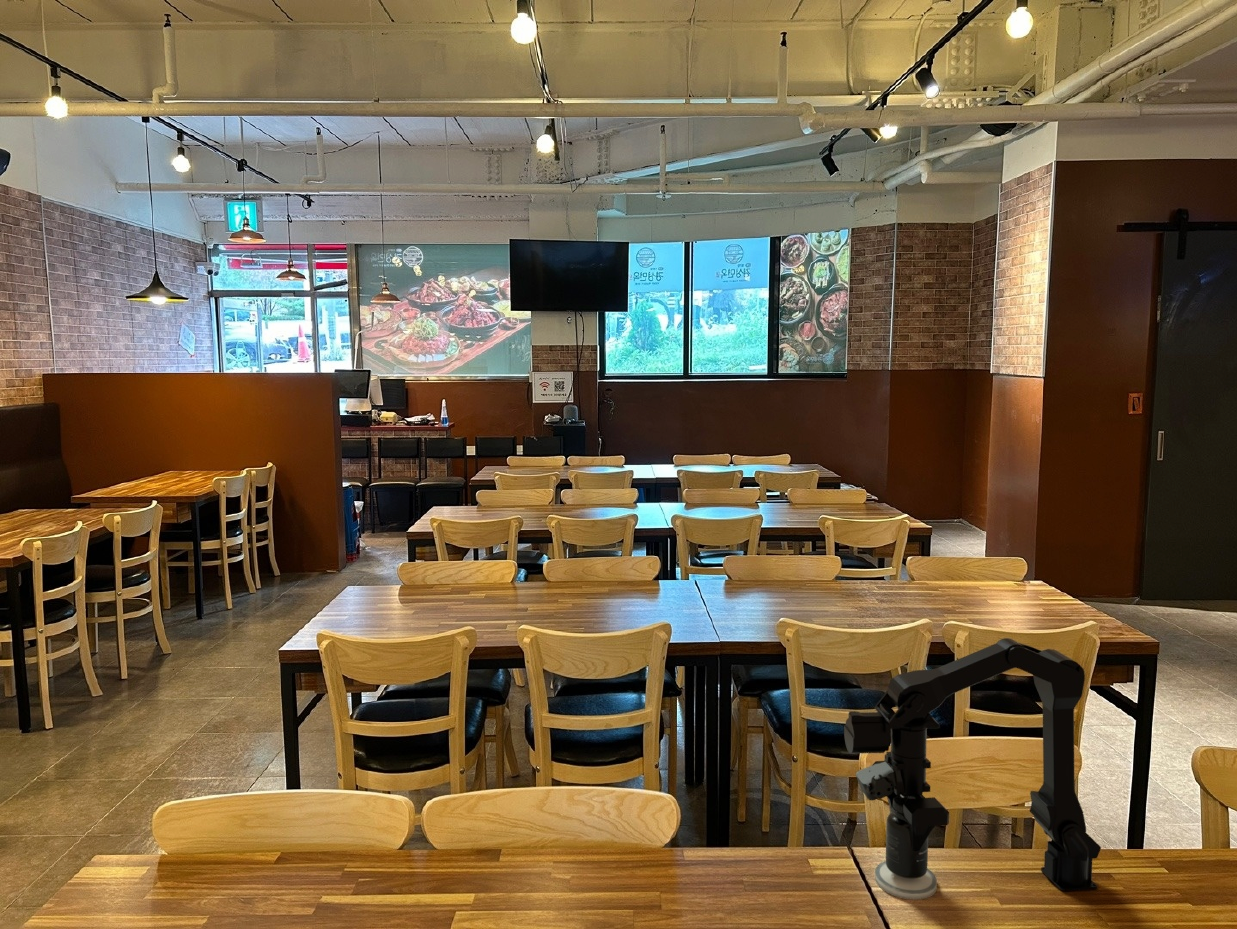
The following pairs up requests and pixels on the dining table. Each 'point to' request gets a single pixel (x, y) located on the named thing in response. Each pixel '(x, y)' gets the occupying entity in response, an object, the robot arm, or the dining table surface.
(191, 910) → the dining table surface
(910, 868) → the supplement bottle
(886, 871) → the dish
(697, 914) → the dining table surface
